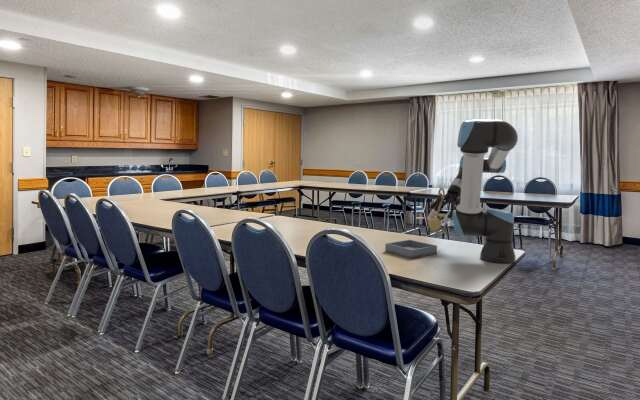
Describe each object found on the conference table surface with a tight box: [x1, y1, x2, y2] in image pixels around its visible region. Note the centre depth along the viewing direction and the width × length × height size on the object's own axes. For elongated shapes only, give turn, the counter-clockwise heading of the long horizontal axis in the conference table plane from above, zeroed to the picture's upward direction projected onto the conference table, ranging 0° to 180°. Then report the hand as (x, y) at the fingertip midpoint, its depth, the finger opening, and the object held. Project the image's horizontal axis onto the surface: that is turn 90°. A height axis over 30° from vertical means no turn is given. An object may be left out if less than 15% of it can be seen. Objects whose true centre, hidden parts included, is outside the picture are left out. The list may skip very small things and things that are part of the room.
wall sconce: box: [428, 187, 447, 236], centre depth 219 cm, size 14×10×25 cm
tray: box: [384, 239, 438, 259], centre depth 210 cm, size 17×18×4 cm
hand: (436, 221), depth 218 cm, fingers closed on wall sconce, 9 cm apart
